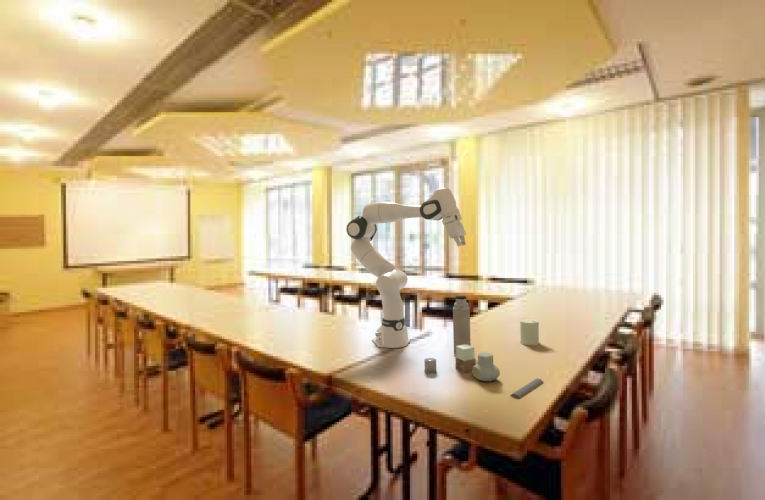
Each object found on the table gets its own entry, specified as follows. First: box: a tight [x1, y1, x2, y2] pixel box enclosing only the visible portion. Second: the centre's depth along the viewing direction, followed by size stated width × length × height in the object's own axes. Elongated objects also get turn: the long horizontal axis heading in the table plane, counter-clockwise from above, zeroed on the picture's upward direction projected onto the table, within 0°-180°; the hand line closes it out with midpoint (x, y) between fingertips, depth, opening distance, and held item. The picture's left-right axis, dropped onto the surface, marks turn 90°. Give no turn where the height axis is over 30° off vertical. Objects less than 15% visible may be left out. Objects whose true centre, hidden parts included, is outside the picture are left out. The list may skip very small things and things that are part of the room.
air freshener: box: [471, 352, 501, 382], centre depth 164 cm, size 11×8×10 cm
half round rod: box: [509, 378, 544, 399], centre depth 153 cm, size 4×20×2 cm, turn 135°
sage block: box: [455, 344, 476, 361], centre depth 176 cm, size 6×6×5 cm
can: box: [519, 318, 540, 346], centre depth 212 cm, size 9×9×12 cm
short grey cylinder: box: [424, 357, 437, 374], centre depth 175 cm, size 5×5×5 cm
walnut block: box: [455, 357, 477, 374], centre depth 176 cm, size 6×6×5 cm
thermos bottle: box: [452, 295, 472, 356], centre depth 197 cm, size 8×8×28 cm
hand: (462, 245), depth 200 cm, fingers open, 8 cm apart
